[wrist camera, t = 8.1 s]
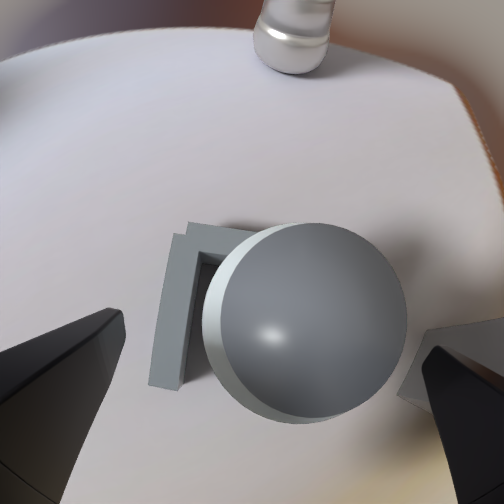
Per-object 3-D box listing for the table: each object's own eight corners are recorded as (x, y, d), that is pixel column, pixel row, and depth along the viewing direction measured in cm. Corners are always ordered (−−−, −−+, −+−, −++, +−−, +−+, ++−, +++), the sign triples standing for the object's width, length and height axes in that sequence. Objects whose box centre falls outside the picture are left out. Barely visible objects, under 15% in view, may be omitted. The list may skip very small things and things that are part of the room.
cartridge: (309, 347, 17) (447, 349, 6) (238, 388, 16) (275, 476, 5) (270, 278, 18) (351, 175, 7) (198, 315, 17) (157, 268, 6)
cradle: (331, 398, 16) (347, 406, 14) (158, 379, 16) (148, 385, 14) (344, 260, 19) (360, 249, 17) (181, 235, 18) (176, 220, 16)
